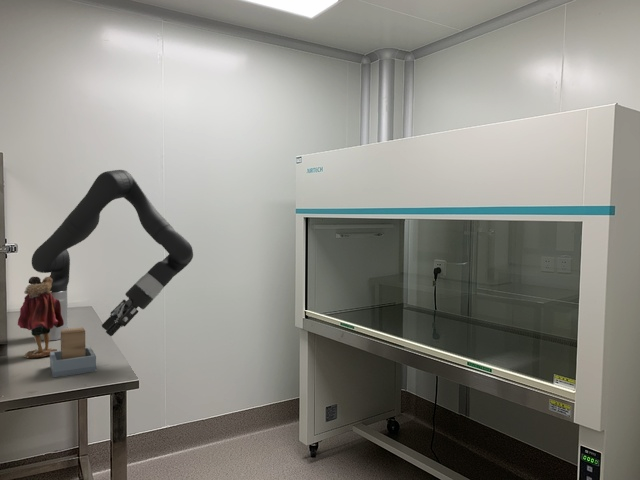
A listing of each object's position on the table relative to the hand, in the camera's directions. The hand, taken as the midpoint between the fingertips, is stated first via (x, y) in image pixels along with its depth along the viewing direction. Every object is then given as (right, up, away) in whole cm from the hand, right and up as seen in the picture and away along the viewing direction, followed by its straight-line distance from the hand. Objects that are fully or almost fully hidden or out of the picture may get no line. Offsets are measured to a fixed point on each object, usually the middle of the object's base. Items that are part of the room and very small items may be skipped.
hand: (105, 331), depth 148 cm
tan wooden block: (-8, -9, -4) cm, 13 cm away
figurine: (-25, -9, +10) cm, 29 cm away
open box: (-8, -10, -4) cm, 14 cm away
